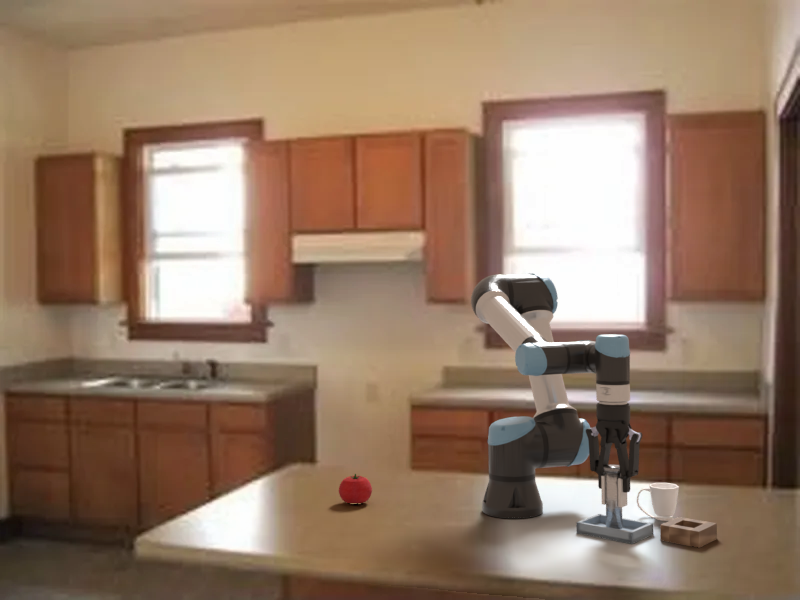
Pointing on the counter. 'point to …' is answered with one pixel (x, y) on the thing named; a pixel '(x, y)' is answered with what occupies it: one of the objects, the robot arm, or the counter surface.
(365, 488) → the tomato
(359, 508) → the counter surface
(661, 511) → the cup
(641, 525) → the tray
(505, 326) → the robot arm
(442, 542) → the counter surface
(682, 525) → the socket block
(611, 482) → the pin
